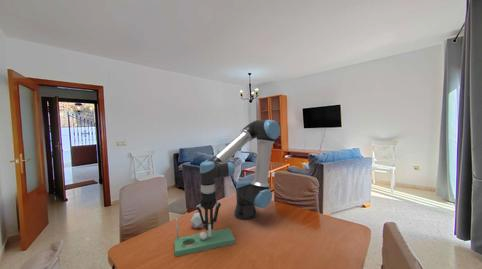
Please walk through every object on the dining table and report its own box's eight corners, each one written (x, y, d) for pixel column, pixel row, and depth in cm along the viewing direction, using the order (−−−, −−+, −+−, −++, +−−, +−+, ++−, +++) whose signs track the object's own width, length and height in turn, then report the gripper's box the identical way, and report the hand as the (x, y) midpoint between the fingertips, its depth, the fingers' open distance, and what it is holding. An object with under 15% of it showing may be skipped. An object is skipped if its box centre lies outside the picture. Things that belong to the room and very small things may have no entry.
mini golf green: (229, 232, 120) (228, 208, 119) (235, 243, 109) (234, 217, 108) (174, 243, 111) (173, 217, 110) (175, 256, 100) (173, 228, 99)
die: (198, 233, 121) (208, 217, 124) (186, 225, 123) (195, 209, 125) (201, 231, 130) (210, 216, 132) (189, 223, 131) (198, 208, 133)
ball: (199, 238, 111) (206, 236, 112) (200, 242, 107) (208, 240, 108) (198, 231, 110) (206, 229, 112) (199, 234, 107) (207, 232, 108)
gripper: (218, 187, 115) (220, 229, 116) (194, 190, 110) (196, 234, 112) (221, 192, 107) (223, 236, 109) (196, 195, 103) (197, 241, 105)
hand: (209, 235), depth 110 cm, fingers closed
